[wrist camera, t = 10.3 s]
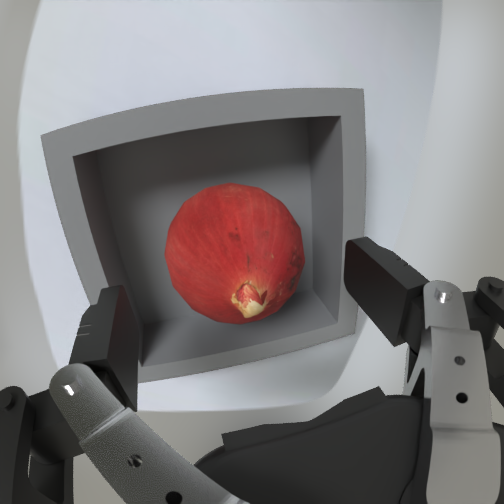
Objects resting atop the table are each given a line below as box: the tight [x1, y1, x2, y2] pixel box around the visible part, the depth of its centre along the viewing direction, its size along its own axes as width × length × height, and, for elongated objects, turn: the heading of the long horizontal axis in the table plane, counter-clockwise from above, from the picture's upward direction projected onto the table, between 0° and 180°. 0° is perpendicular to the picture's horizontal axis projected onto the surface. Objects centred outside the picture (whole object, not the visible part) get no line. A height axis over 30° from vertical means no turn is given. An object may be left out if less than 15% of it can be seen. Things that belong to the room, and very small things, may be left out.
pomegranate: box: [164, 182, 305, 324], centre depth 13 cm, size 6×6×8 cm
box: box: [41, 88, 366, 383], centre depth 15 cm, size 13×13×4 cm
